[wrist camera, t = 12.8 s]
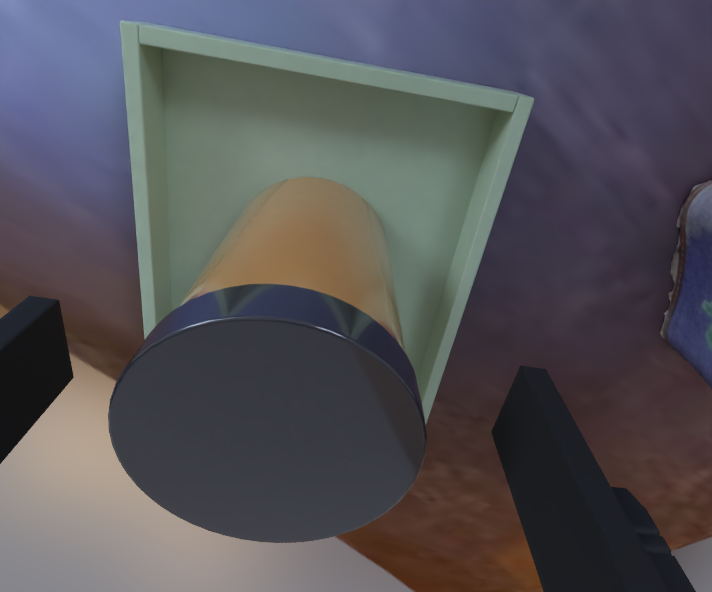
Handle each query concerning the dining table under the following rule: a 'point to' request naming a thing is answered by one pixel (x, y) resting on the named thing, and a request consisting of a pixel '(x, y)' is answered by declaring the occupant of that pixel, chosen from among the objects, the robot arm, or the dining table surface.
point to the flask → (693, 284)
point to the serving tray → (315, 164)
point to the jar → (279, 378)
